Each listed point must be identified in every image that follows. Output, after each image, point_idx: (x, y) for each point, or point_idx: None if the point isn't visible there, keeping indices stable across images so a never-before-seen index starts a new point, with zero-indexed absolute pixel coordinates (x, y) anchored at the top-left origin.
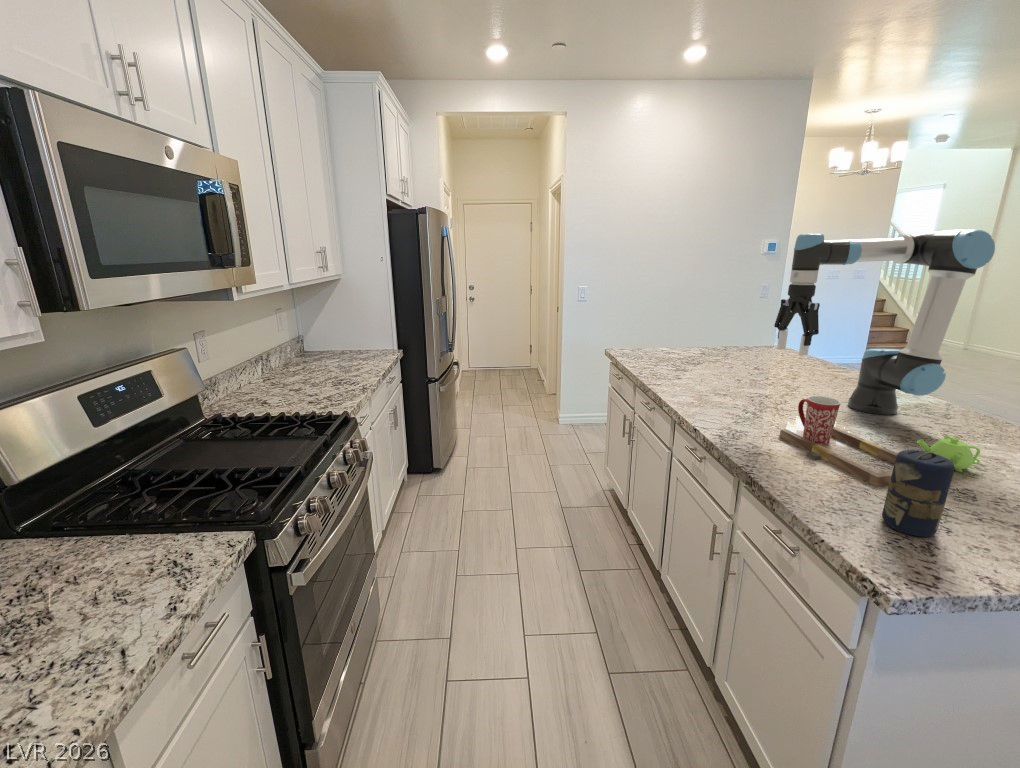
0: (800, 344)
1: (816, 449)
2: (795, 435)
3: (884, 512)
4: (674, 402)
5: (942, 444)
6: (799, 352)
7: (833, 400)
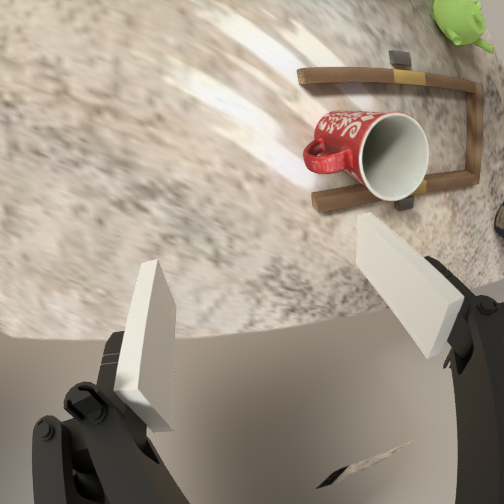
0: (391, 308)
1: None
2: (353, 200)
3: (502, 237)
4: (95, 332)
5: (474, 34)
6: (367, 273)
7: (390, 116)
